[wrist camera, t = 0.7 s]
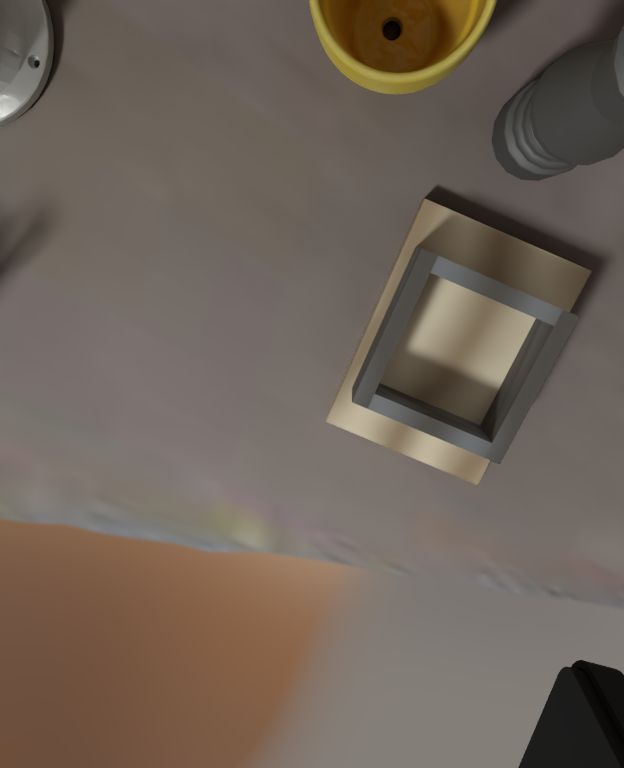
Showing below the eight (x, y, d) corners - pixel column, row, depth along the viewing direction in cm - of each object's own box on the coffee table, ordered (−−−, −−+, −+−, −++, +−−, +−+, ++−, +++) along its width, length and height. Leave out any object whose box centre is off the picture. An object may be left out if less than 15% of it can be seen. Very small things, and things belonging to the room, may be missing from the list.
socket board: (326, 415, 47) (323, 438, 42) (422, 199, 43) (432, 194, 38) (473, 477, 48) (488, 507, 42) (583, 269, 43) (616, 274, 38)
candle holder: (534, 66, 40) (807, -189, 16) (601, 125, 41) (961, -36, 17) (473, 143, 42) (640, 16, 18) (539, 199, 42) (788, 149, 18)
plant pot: (289, 67, 41) (271, 16, 32) (367, -84, 39) (372, -187, 29) (414, 145, 42) (433, 119, 33) (498, 2, 40) (545, -71, 30)
